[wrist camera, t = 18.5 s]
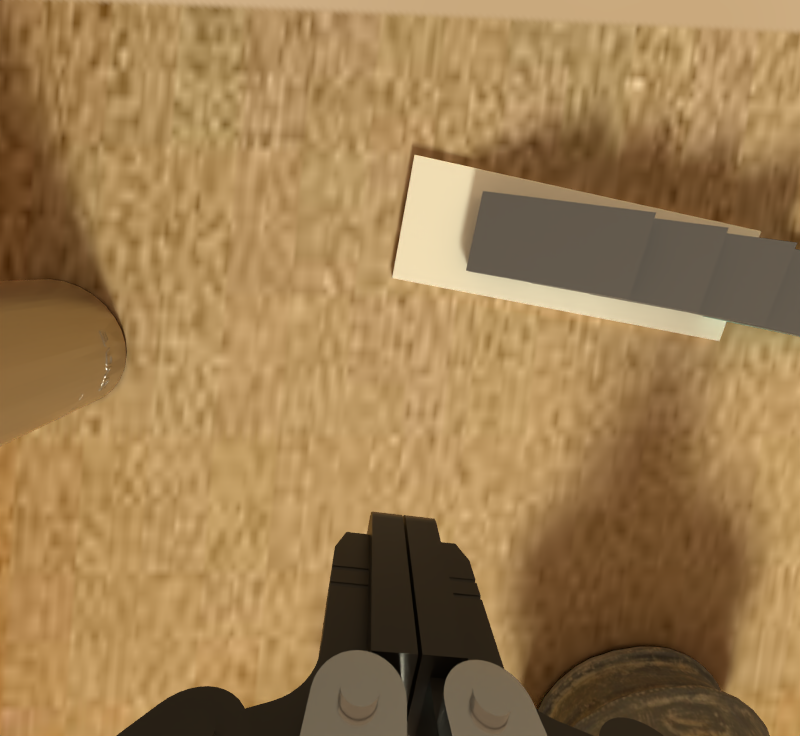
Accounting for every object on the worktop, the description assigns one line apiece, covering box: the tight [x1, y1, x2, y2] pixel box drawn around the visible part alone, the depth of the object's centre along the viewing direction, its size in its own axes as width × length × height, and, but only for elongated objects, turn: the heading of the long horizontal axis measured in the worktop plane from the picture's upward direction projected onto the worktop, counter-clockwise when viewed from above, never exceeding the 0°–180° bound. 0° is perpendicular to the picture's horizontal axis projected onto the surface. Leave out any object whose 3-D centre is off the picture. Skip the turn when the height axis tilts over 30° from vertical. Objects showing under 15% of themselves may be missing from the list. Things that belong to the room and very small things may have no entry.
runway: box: [392, 155, 761, 341], centre depth 29 cm, size 25×8×1 cm, turn 79°
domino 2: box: [532, 218, 728, 313], centre depth 26 cm, size 2×5×10 cm
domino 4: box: [693, 249, 800, 336], centre depth 27 cm, size 2×5×10 cm
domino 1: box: [466, 191, 656, 300], centre depth 26 cm, size 2×5×10 cm
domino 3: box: [590, 233, 797, 326], centre depth 27 cm, size 2×5×10 cm
